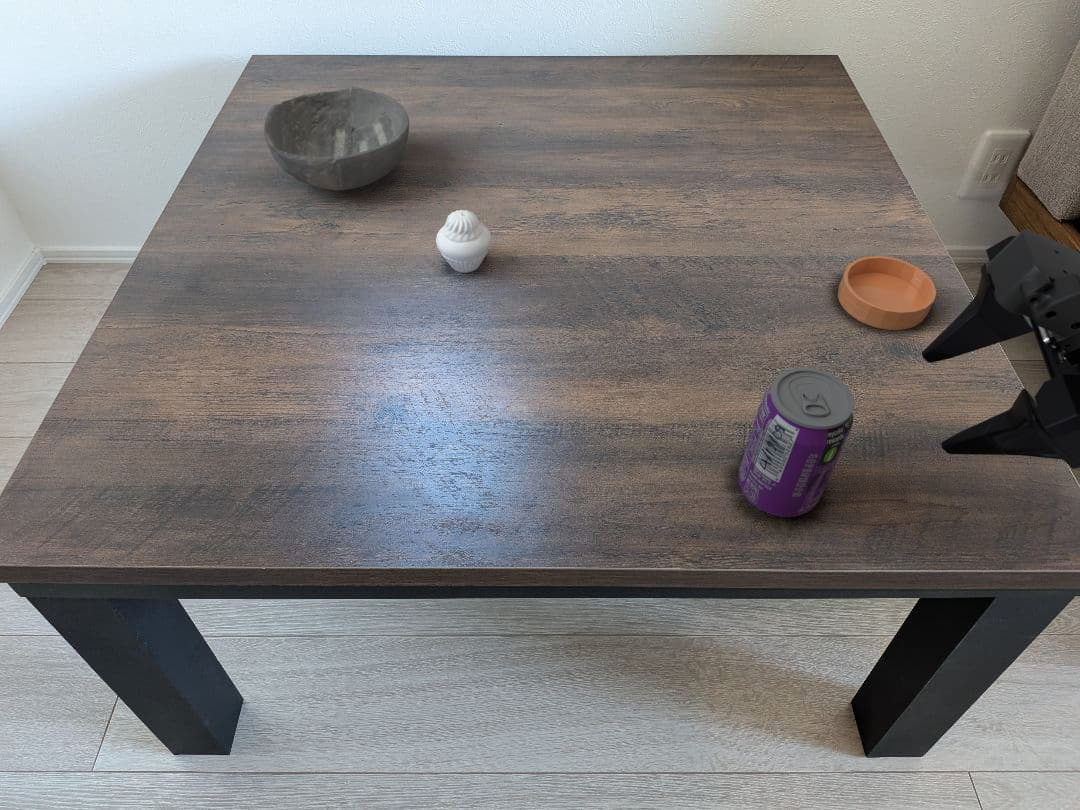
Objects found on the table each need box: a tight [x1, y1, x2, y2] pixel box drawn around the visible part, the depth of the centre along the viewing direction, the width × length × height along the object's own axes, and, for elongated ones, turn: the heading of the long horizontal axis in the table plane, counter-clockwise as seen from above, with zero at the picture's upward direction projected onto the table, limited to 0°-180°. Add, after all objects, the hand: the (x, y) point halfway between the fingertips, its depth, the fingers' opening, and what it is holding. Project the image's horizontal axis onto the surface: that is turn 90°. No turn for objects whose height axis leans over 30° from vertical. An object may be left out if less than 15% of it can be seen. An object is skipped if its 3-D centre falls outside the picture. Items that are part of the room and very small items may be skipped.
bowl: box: [263, 86, 410, 191], centre depth 99 cm, size 18×18×8 cm
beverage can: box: [737, 366, 855, 518], centre depth 64 cm, size 7×7×12 cm
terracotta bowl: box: [837, 255, 937, 331], centre depth 85 cm, size 9×9×2 cm
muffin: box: [435, 209, 492, 274], centre depth 87 cm, size 6×6×7 cm
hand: (934, 401), depth 58 cm, fingers open, 9 cm apart
